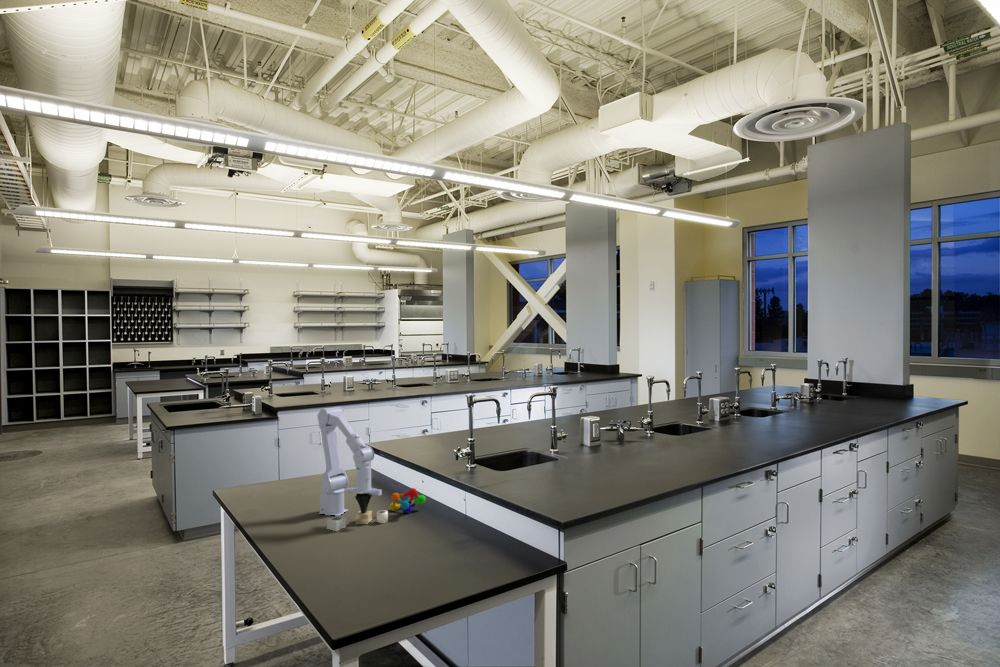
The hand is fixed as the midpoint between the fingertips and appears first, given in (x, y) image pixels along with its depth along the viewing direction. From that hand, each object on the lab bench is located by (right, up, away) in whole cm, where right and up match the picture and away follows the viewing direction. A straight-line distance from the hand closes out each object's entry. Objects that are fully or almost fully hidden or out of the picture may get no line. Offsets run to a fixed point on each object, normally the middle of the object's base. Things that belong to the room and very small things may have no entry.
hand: (363, 512), depth 220 cm
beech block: (0, -4, 0) cm, 4 cm away
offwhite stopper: (+7, -4, +1) cm, 8 cm away
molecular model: (+15, -4, +13) cm, 20 cm away
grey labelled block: (-9, -4, -7) cm, 12 cm away
